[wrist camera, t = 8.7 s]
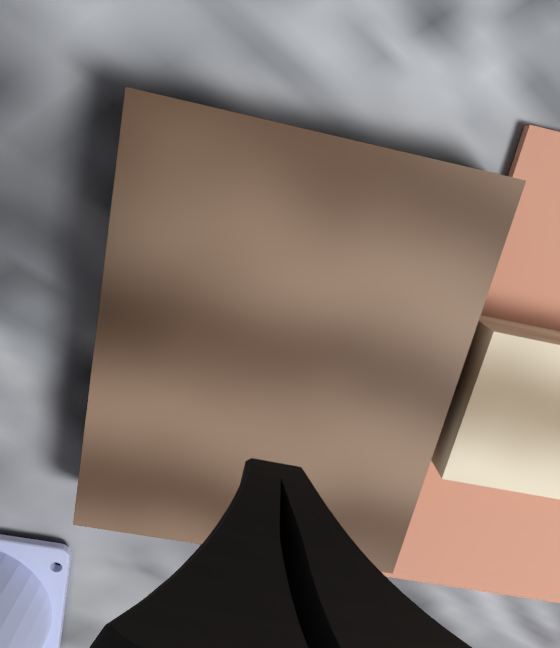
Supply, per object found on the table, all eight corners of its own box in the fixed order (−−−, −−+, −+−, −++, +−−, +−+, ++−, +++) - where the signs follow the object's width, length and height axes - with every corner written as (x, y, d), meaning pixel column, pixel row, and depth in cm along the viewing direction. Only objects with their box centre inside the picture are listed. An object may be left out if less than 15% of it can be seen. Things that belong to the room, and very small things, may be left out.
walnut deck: (379, 532, 24) (392, 573, 21) (93, 486, 23) (73, 524, 20) (493, 178, 19) (526, 180, 17) (143, 96, 18) (125, 86, 16)
